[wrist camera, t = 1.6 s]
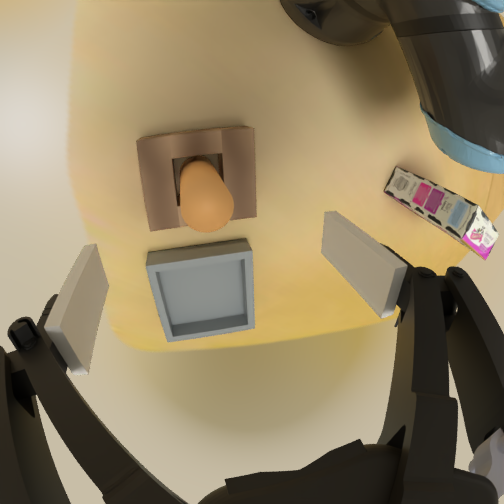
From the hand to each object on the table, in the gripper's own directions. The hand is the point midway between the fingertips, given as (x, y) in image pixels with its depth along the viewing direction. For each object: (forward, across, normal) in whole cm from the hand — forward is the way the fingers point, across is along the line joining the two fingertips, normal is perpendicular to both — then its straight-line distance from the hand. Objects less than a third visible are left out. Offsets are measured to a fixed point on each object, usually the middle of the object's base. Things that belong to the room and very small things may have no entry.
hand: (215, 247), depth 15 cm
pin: (+19, 0, 0) cm, 19 cm away
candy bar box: (+19, +33, -5) cm, 39 cm away
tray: (+19, -1, -16) cm, 25 cm away
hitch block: (+19, 0, 0) cm, 19 cm away
